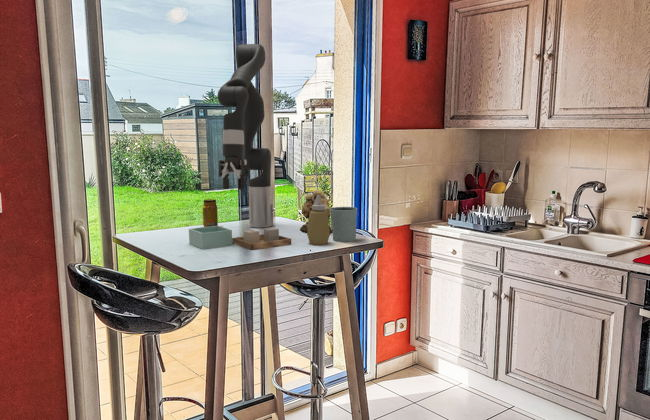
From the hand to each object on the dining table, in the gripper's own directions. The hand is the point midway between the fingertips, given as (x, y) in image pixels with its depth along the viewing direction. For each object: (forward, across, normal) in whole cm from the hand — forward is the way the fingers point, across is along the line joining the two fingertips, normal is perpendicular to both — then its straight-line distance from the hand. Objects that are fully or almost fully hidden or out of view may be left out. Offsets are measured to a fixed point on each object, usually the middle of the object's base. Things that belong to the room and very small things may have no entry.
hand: (233, 189), depth 195 cm
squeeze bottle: (+20, -22, -21) cm, 36 cm away
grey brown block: (+19, -9, -10) cm, 23 cm away
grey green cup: (+19, -23, -34) cm, 45 cm away
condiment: (+17, +35, -16) cm, 43 cm away
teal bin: (+20, +4, +7) cm, 22 cm away
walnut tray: (+20, -8, -6) cm, 23 cm away
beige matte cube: (+20, -8, -2) cm, 21 cm away
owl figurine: (+18, -3, -40) cm, 43 cm away
